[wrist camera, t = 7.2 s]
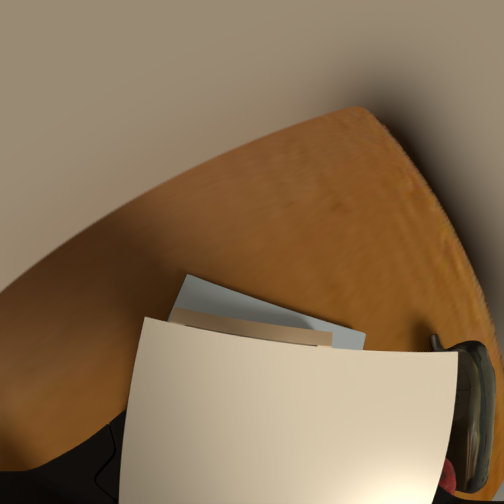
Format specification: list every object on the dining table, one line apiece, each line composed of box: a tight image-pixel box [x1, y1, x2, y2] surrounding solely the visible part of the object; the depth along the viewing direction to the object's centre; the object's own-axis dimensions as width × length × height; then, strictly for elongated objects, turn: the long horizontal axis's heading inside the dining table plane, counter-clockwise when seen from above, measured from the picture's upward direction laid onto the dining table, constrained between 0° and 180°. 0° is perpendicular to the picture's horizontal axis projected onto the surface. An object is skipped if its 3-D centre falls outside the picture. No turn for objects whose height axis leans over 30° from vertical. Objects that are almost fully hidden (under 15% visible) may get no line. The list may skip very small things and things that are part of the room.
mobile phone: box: [430, 334, 496, 494], centre depth 12 cm, size 5×3×15 cm
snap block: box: [119, 317, 458, 504], centre depth 8 cm, size 4×4×12 cm
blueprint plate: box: [167, 274, 366, 350], centre depth 14 cm, size 12×12×1 cm
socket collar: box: [170, 307, 333, 348], centre depth 13 cm, size 9×9×2 cm
